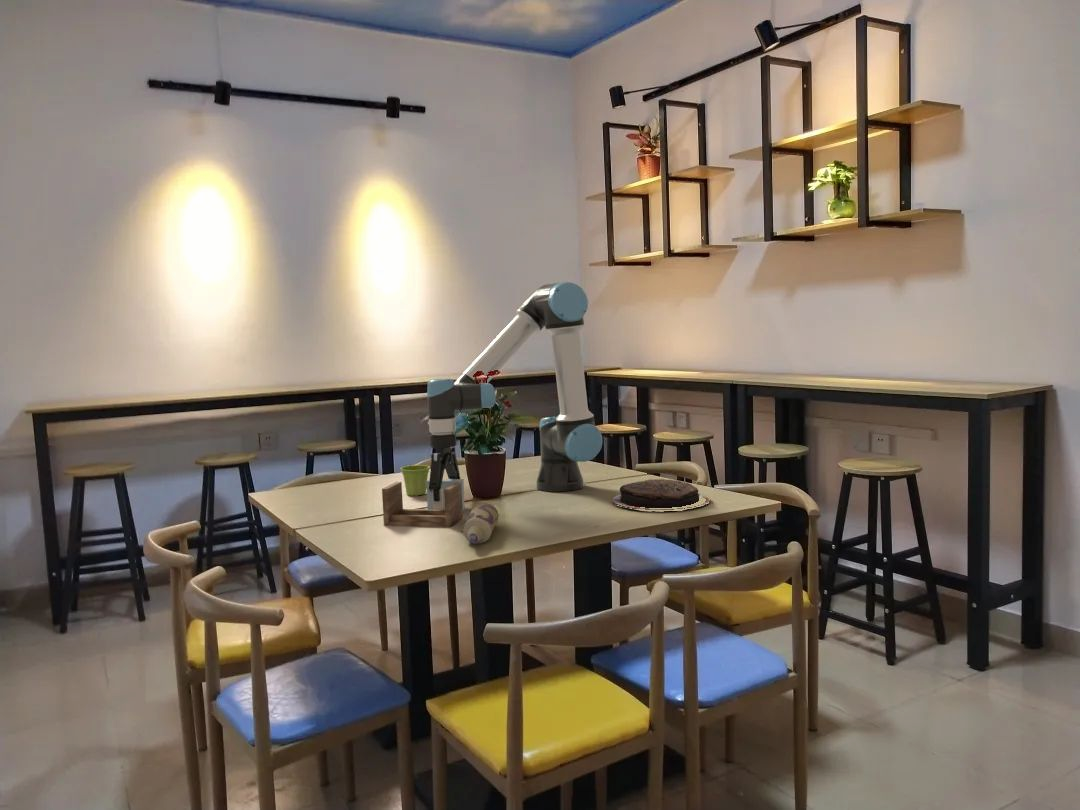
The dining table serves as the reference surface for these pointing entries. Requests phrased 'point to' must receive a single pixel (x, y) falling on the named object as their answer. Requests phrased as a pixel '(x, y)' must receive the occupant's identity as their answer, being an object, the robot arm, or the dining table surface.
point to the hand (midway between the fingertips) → (446, 507)
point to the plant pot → (415, 479)
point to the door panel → (444, 485)
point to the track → (421, 517)
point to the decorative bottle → (480, 523)
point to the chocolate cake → (658, 495)
